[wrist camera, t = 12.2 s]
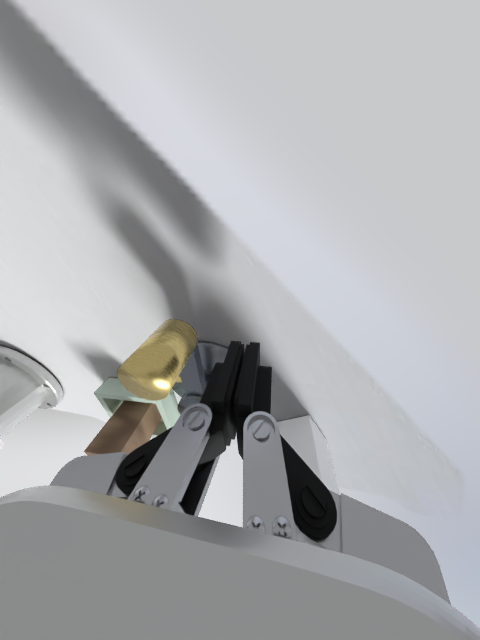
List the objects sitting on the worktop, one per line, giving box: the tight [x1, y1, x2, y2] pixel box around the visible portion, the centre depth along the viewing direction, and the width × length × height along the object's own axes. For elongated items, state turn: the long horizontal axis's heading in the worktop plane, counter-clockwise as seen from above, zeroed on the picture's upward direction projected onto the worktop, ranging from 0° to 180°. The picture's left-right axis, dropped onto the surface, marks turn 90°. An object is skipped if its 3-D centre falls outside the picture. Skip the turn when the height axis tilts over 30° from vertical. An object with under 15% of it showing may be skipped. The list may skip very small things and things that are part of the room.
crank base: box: [172, 341, 228, 397], centre depth 21 cm, size 11×11×3 cm
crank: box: [117, 319, 206, 415], centre depth 15 cm, size 12×4×6 cm, turn 3°
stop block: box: [84, 400, 162, 456], centre depth 23 cm, size 4×4×7 cm
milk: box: [277, 415, 340, 495], centre depth 15 cm, size 6×6×22 cm
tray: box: [94, 377, 180, 438], centre depth 25 cm, size 9×9×2 cm
